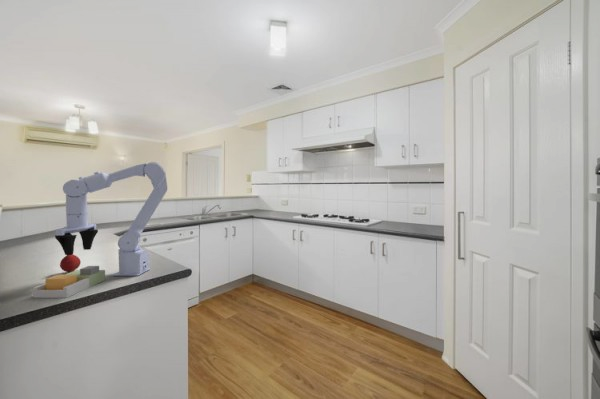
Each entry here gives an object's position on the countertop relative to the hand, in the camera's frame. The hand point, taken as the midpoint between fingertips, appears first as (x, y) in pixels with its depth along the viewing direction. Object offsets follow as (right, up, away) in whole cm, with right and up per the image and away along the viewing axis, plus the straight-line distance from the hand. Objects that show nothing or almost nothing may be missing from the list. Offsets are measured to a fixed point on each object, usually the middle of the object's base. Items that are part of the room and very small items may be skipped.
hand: (78, 252), depth 90 cm
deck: (+5, -10, -7) cm, 13 cm away
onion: (-10, -10, +7) cm, 16 cm away
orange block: (+4, -11, -11) cm, 16 cm away
